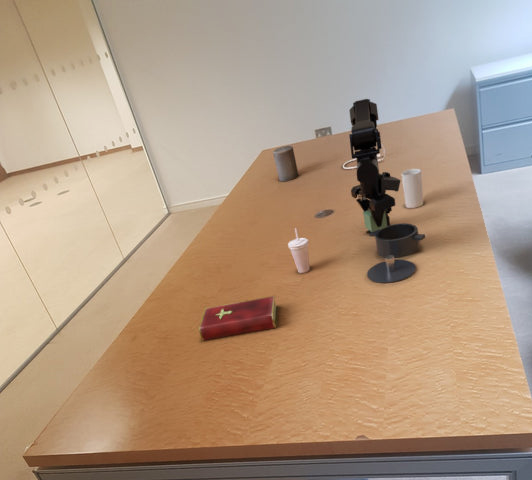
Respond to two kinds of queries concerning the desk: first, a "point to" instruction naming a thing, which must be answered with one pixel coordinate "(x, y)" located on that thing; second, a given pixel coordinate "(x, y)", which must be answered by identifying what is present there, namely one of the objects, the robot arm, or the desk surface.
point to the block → (371, 223)
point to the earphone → (356, 159)
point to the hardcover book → (238, 318)
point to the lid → (391, 270)
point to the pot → (397, 240)
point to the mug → (412, 188)
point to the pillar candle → (285, 163)
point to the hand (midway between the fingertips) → (375, 224)
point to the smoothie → (300, 253)
